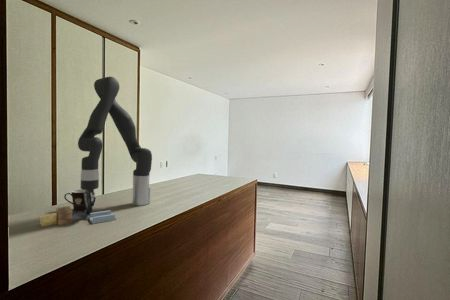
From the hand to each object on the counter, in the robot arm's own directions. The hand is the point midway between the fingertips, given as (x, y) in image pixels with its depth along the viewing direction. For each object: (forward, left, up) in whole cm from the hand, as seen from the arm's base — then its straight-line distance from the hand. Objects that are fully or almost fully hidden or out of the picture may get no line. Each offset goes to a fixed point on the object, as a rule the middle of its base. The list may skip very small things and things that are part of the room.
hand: (89, 214), depth 116 cm
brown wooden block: (+10, 0, -2) cm, 10 cm away
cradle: (-4, +6, -2) cm, 7 cm away
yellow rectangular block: (+14, 0, -2) cm, 15 cm away
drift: (+6, 0, -2) cm, 6 cm away
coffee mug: (+2, -17, -2) cm, 17 cm away
